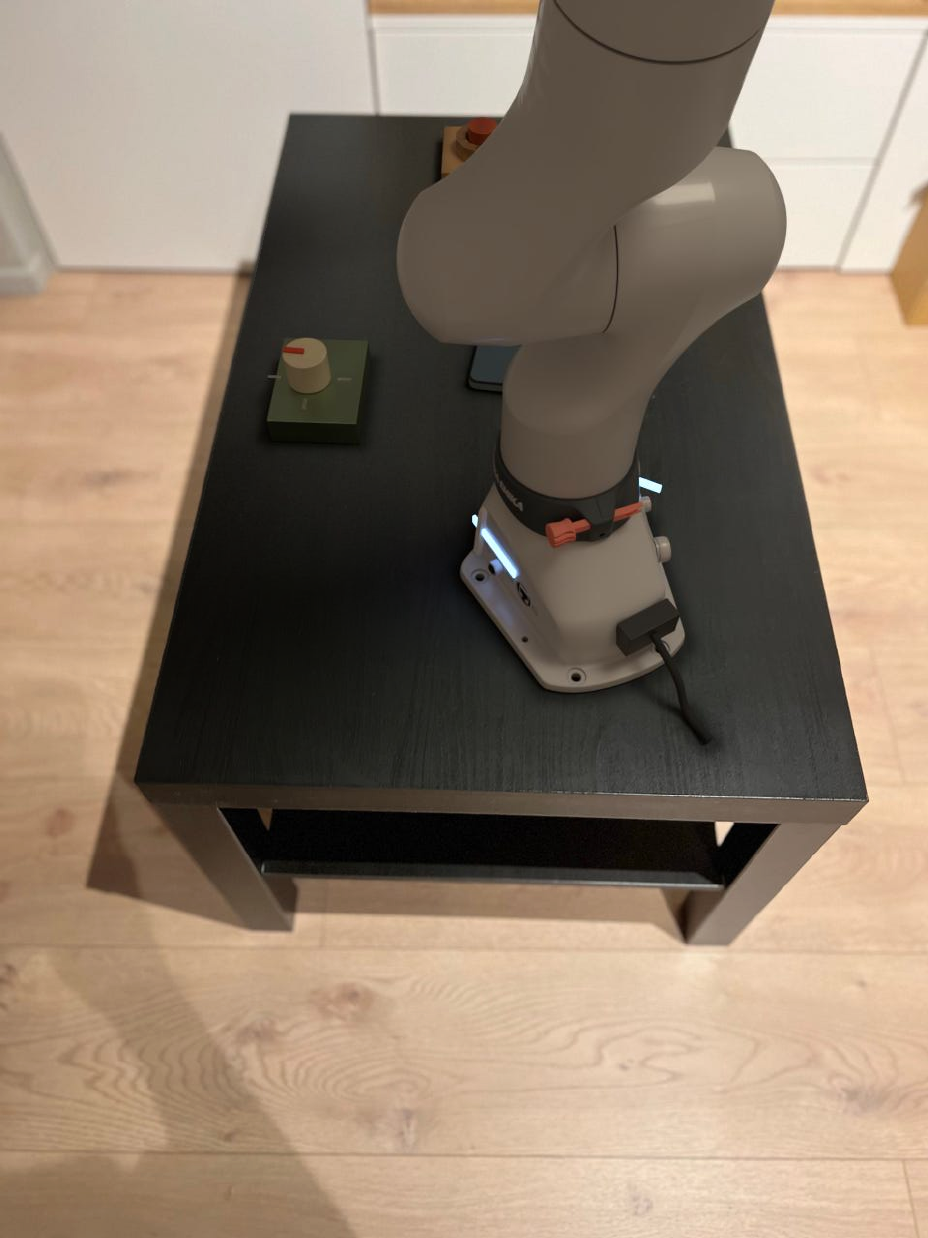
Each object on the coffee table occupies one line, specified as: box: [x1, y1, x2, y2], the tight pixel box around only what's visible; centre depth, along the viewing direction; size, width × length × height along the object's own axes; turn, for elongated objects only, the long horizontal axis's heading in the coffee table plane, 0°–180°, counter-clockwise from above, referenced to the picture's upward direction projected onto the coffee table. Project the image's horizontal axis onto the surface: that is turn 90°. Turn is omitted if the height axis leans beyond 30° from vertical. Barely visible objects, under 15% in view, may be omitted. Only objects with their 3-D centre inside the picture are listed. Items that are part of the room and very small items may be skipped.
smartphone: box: [468, 345, 521, 393], centre depth 105 cm, size 8×2×15 cm
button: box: [467, 116, 498, 146], centre depth 122 cm, size 4×4×2 cm
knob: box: [282, 337, 331, 394], centre depth 99 cm, size 4×4×4 cm
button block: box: [440, 122, 499, 180], centre depth 124 cm, size 10×10×4 cm
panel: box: [266, 337, 372, 445], centre depth 102 cm, size 12×10×3 cm
